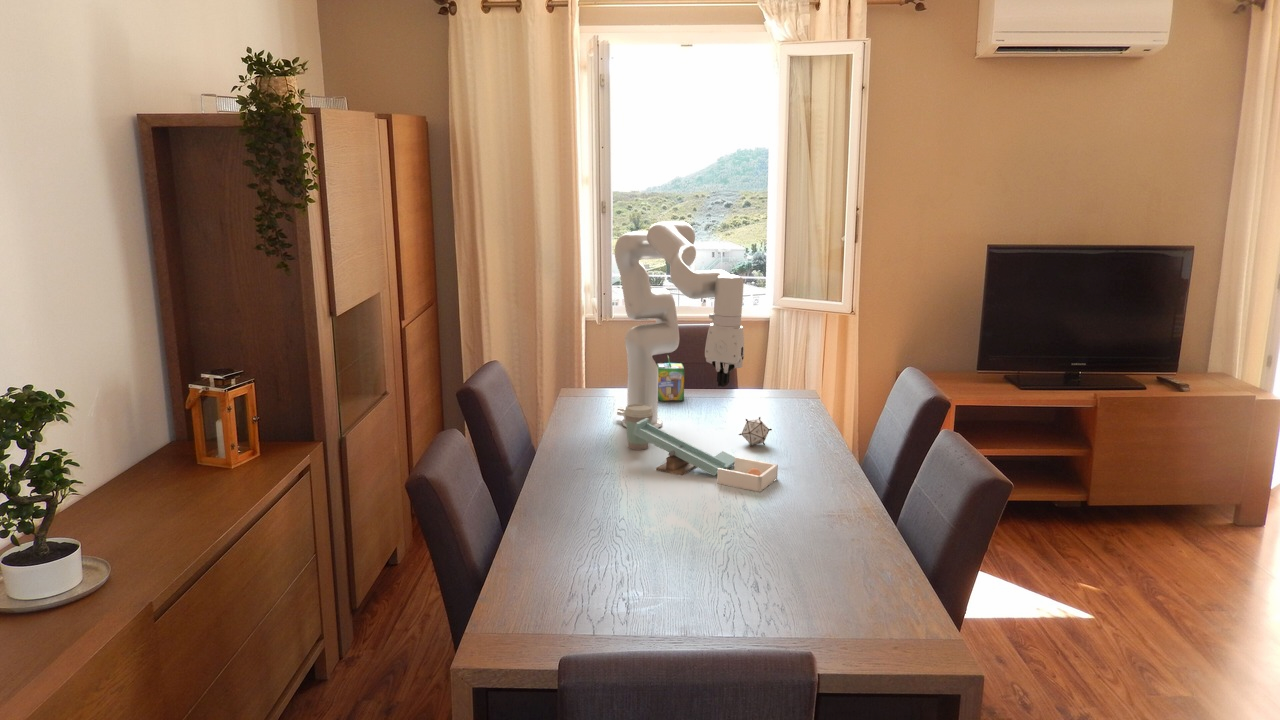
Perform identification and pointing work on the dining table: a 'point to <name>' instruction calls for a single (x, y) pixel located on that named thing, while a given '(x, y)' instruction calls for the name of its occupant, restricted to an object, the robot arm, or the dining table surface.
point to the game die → (755, 432)
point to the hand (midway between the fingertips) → (722, 385)
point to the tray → (748, 475)
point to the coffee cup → (633, 416)
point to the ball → (754, 471)
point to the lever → (683, 448)
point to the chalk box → (670, 381)
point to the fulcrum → (675, 466)
